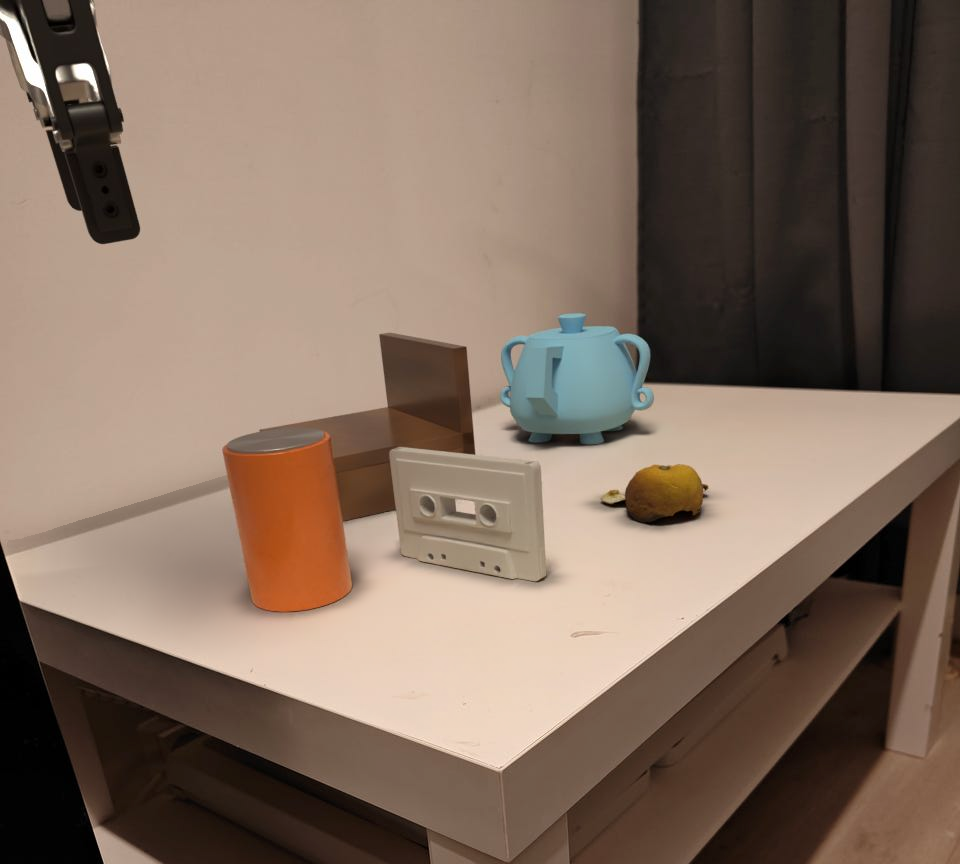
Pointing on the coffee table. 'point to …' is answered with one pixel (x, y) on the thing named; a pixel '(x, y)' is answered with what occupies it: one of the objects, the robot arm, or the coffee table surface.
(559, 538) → the coffee table surface
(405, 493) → the cassette
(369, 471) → the shelf
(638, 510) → the fruit
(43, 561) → the coffee table surface
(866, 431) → the coffee table surface
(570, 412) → the teapot
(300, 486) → the can
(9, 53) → the robot arm
